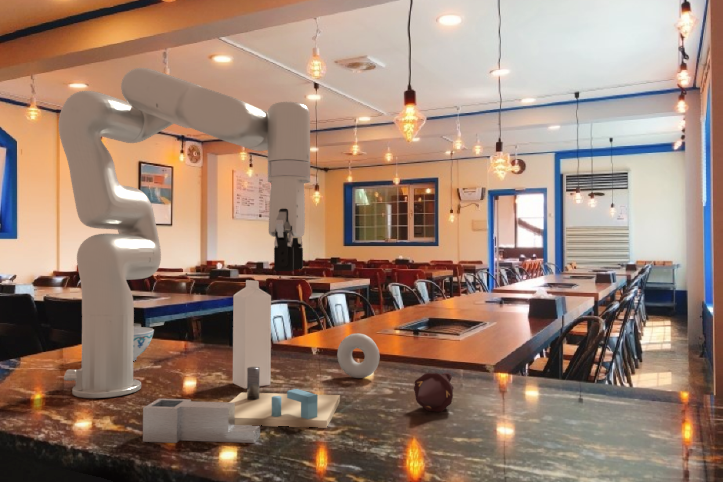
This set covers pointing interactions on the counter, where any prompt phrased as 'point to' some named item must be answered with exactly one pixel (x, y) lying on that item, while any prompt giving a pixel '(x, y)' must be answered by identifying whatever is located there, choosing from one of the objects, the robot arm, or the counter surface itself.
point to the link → (194, 422)
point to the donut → (369, 351)
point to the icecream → (434, 391)
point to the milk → (251, 333)
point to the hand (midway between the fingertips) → (289, 270)
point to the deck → (282, 411)
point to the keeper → (304, 397)
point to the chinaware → (141, 340)
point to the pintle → (253, 383)
